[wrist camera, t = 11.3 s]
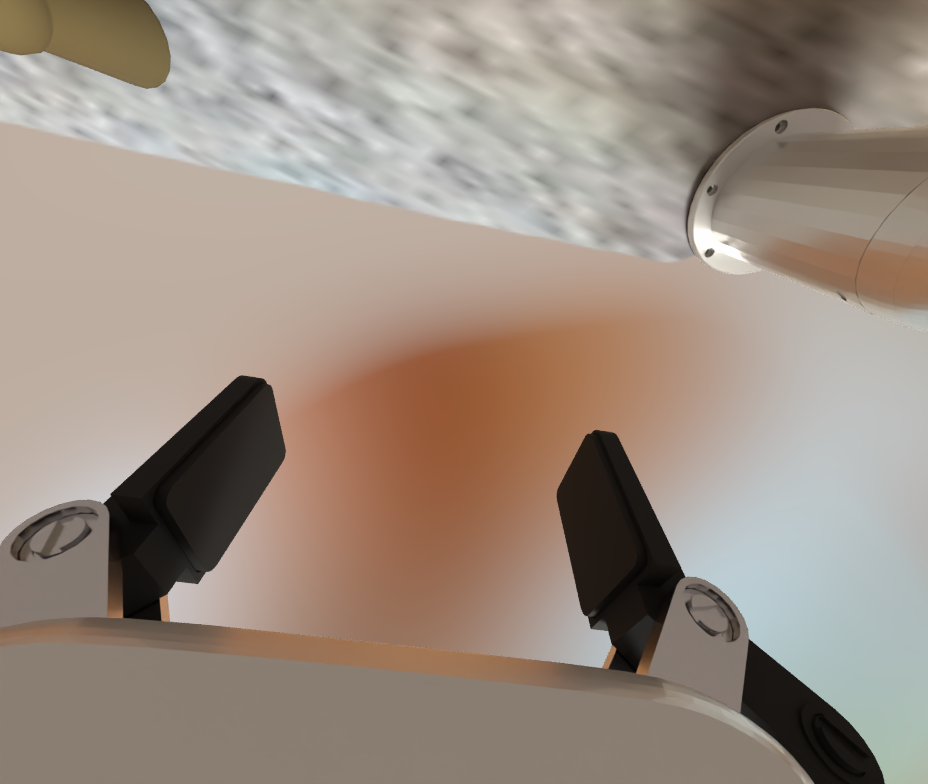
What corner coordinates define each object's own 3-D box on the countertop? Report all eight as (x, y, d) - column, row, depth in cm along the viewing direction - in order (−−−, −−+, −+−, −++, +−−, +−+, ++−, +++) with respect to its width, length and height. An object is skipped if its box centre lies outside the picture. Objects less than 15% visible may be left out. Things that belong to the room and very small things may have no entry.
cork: (148, -21, 24) (-52, -126, 15) (183, 92, 27) (38, 62, 18) (63, -29, 24) (-190, -140, 15) (109, 85, 27) (-72, 51, 18)
